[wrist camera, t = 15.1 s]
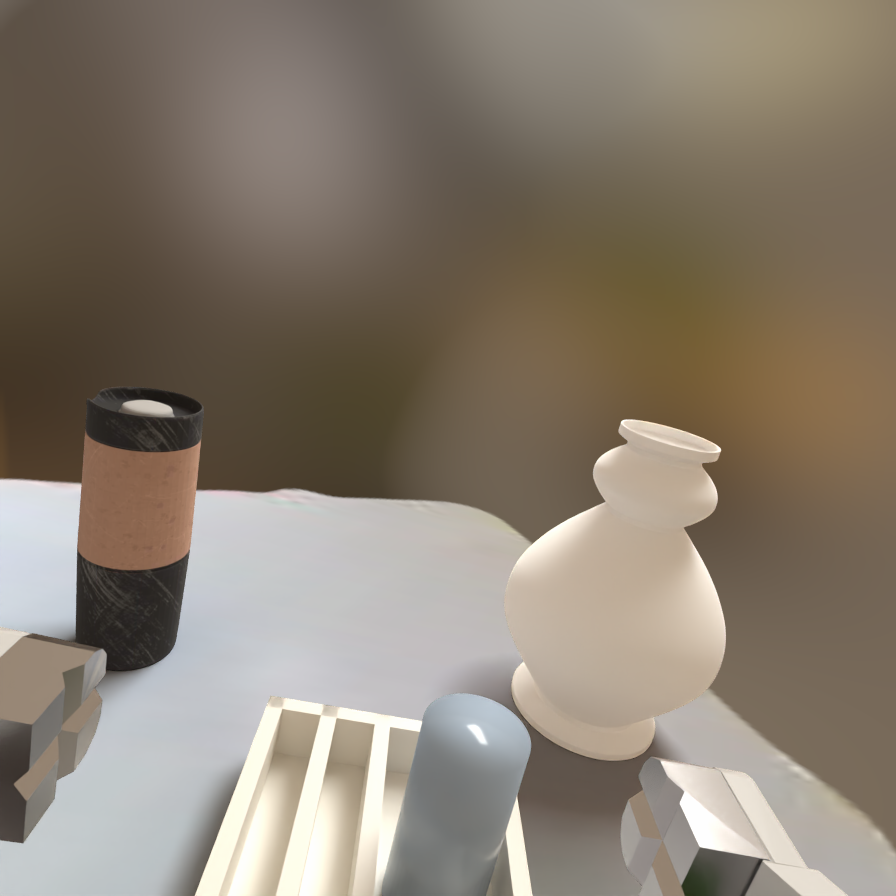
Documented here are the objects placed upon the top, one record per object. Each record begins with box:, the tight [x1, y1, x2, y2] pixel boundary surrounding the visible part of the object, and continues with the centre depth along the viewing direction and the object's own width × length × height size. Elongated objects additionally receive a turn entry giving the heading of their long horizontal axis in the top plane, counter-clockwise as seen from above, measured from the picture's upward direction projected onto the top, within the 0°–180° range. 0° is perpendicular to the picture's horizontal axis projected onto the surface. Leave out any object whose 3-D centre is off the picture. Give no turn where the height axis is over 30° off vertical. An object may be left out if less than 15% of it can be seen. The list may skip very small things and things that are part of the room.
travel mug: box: [76, 387, 204, 671], centre depth 47 cm, size 8×8×20 cm
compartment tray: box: [195, 696, 532, 896], centre depth 34 cm, size 16×18×5 cm
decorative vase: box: [504, 420, 726, 761], centre depth 51 cm, size 18×18×25 cm
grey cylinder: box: [382, 693, 531, 896], centre depth 33 cm, size 6×6×11 cm
